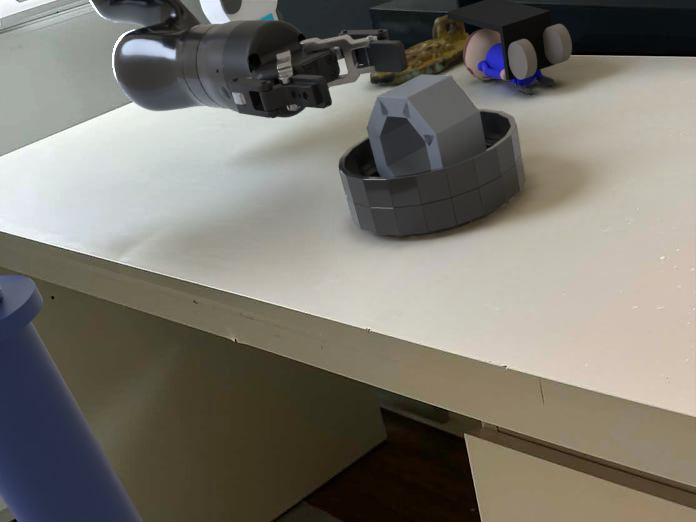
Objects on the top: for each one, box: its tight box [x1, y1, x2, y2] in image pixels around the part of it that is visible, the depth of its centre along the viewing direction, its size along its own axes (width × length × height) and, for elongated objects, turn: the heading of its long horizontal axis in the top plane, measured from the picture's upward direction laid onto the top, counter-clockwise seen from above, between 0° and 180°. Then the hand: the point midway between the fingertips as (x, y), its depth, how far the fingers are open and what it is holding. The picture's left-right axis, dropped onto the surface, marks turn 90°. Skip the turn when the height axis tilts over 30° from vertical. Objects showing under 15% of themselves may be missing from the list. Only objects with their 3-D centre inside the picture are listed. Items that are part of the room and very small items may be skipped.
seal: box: [369, 14, 470, 85], centre depth 114 cm, size 9×5×15 cm
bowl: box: [337, 108, 526, 238], centre depth 79 cm, size 15×15×5 cm
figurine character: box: [446, 0, 573, 96], centre depth 100 cm, size 7×8×15 cm
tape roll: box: [366, 74, 486, 177], centre depth 78 cm, size 9×5×9 cm, turn 46°
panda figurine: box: [199, 0, 285, 24], centre depth 125 cm, size 12×11×15 cm
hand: (365, 74), depth 77 cm, fingers open, 8 cm apart
